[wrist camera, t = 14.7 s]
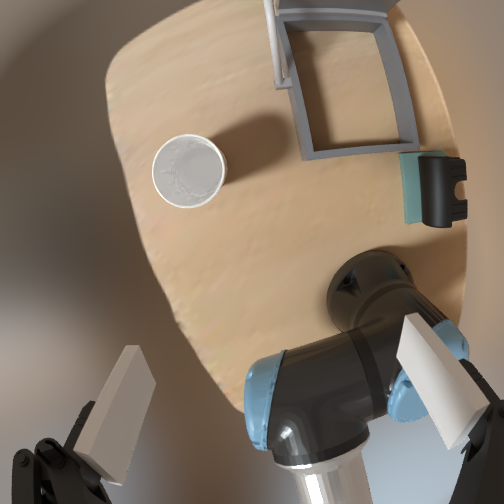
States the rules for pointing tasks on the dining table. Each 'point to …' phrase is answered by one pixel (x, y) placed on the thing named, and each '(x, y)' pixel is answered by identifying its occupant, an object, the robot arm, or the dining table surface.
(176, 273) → the dining table surface
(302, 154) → the case
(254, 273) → the dining table surface
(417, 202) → the rubber pad
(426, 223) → the end cap
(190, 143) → the white cup
